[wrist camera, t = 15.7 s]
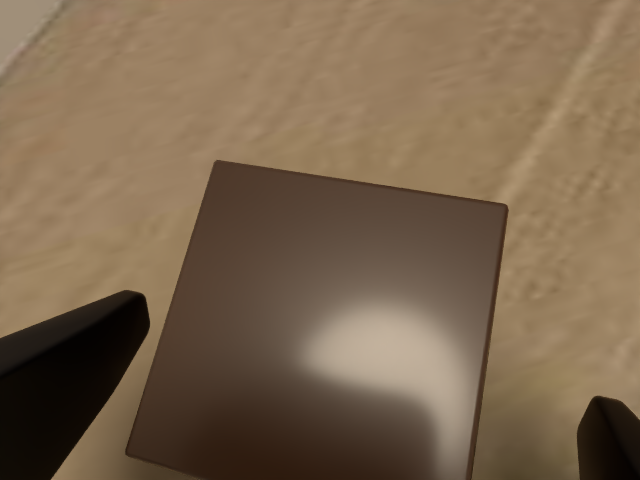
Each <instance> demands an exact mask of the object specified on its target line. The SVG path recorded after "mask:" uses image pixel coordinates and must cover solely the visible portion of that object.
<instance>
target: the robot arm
mask: <svg viewBox="0 0 640 480" xmlns="http://www.w3.org/2000/svg"><path fill="white" fill-rule="evenodd" d="M149 328H150V319H149V313H148V307H147V302H146V297H145V296H144V294H142V293H139V292H135V291H130V290H124V291H121V292H118V293H116V294H113V295H111V296H108V297H105V298H103V299H100V300H98V301H95V302H93V303H90V304H87V305H85V306H82V307H80V308H77V309H74V310H72V311H69V312H67V313H64V314H62V315H59V316H56V317H54V318H51V319H49V320H46V321H43V322H41V323H38V324H36V325H33V326H30V327H28V328H25V329H23V330H20V331H18V332H15V333H12V334H10V335H7V336H5V337H2V338H0V480H51V479H52V477H53V476H54V474H55V473H56V472H57V470H58V469H59V468H60V466H61V465H62V463H63V462H64V461H65V459H66V458H67V456H68V455H69V454H70V452H71V451H72V449H73V448H74V447H75V445H76V444H77V443H78V441H79V440H80V438H81V437H82V436H83V434H84V433H85V431H86V430H87V429H88V427H89V426H90V425H91V423H92V422H93V420H94V419H95V418H96V416H97V415H98V413H99V412H100V411H101V409H102V408H103V406H104V405H105V404H106V402H107V401H108V399H109V398H110V396H111V395H112V394H113V392H114V390H115V389H116V387H117V386H118V384H119V382H120V381H121V379H122V377H123V375H124V374H125V372H126V370H127V369H128V367H129V365H130V363H131V362H132V360H133V358H134V356H135V355H136V353H137V351H138V350H139V348H140V346H141V344H142V343H143V341H144V339H145V337H146V336H147V334H148V331H149ZM577 447H578V461H579V474H580V480H640V420H639V419H638V418H637V417H636V416H635V415H634V413H633V412H632V411H631V410H630V409H629V408H628V407H627V406H626V405H625V404H624V403H623V402H621V401H619V400H616V399H612V398H607V397H603V396H595V397H593V398H592V400H591V401H590V403H589V405H588V407H587V409H586V412H585V414H584V416H583V418H582V420H581V422H580V424H579V426H578V431H577Z"/></svg>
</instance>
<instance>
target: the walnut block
mask: <svg viewBox="0 0 640 480" xmlns="http://www.w3.org/2000/svg"><path fill="white" fill-rule="evenodd" d="M508 211H509V210H508V206H507V205H506V204H503V203H496V202H490V201H483V200H477V199H470V198H464V197H457V196H450V195H444V194H437V193H431V192H424V191H418V190H411V189H405V188H398V187H391V186H385V185H378V184H372V183H365V182H359V181H352V180H346V179H339V178H332V177H326V176H319V175H313V174H306V173H300V172H293V171H287V170H280V169H274V168H267V167H260V166H254V165H247V164H241V163H234V162H228V161H221V160H216V161H215V162H214V164H213V168H212V171H211V174H210V177H209V181H208V184H207V187H206V190H205V194H204V197H203V200H202V203H201V207H200V210H199V213H198V216H197V220H196V223H195V226H194V229H193V233H192V236H191V239H190V242H189V246H188V249H187V252H186V255H185V259H184V262H183V265H182V268H181V272H180V275H179V278H178V281H177V285H176V288H175V291H174V294H173V298H172V301H171V304H170V307H169V311H168V314H167V317H166V320H165V324H164V327H163V330H162V333H161V337H160V340H159V343H158V346H157V350H156V353H155V356H154V359H153V363H152V366H151V369H150V372H149V376H148V379H147V382H146V385H145V389H144V392H143V395H142V398H141V402H140V405H139V408H138V411H137V415H136V418H135V421H134V424H133V428H132V431H131V434H130V437H129V441H128V444H127V447H126V451H125V454H126V455H127V456H128V457H130V458H133V459H137V460H140V461H143V462H146V463H149V464H152V465H156V466H159V467H162V468H165V469H168V470H172V471H175V472H178V473H181V474H184V475H187V476H191V477H194V478H197V479H200V480H471V477H472V470H473V463H474V455H475V448H476V441H477V434H478V427H479V419H480V412H481V405H482V398H483V391H484V383H485V376H486V369H487V362H488V355H489V348H490V340H491V333H492V326H493V319H494V312H495V304H496V297H497V290H498V283H499V276H500V268H501V261H502V254H503V247H504V240H505V232H506V225H507V218H508Z"/></svg>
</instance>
